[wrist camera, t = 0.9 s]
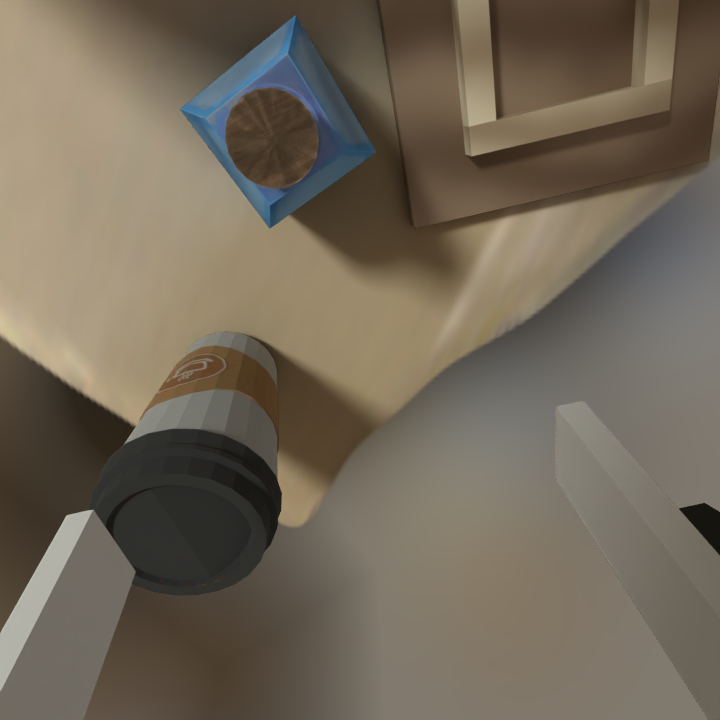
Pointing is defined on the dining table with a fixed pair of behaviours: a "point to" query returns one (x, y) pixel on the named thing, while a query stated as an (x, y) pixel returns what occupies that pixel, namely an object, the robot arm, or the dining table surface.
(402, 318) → the dining table surface
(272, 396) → the coffee cup
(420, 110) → the socket board
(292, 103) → the perfume bottle
